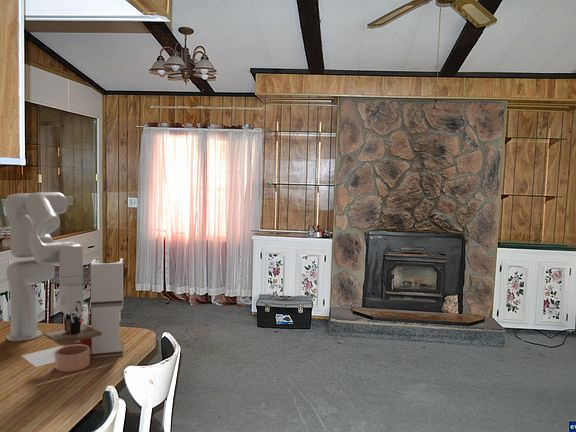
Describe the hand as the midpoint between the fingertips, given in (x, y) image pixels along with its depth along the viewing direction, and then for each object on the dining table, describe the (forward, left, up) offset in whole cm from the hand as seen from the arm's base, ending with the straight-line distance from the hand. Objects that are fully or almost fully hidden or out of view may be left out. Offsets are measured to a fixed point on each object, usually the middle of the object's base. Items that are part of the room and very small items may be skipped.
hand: (72, 331), depth 163 cm
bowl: (0, 0, -13) cm, 13 cm away
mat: (-15, -2, -13) cm, 20 cm away
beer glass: (-25, +13, -13) cm, 31 cm away
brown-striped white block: (-4, +15, -13) cm, 20 cm away
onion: (-15, +12, -13) cm, 23 cm away
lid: (0, 0, -1) cm, 1 cm away
